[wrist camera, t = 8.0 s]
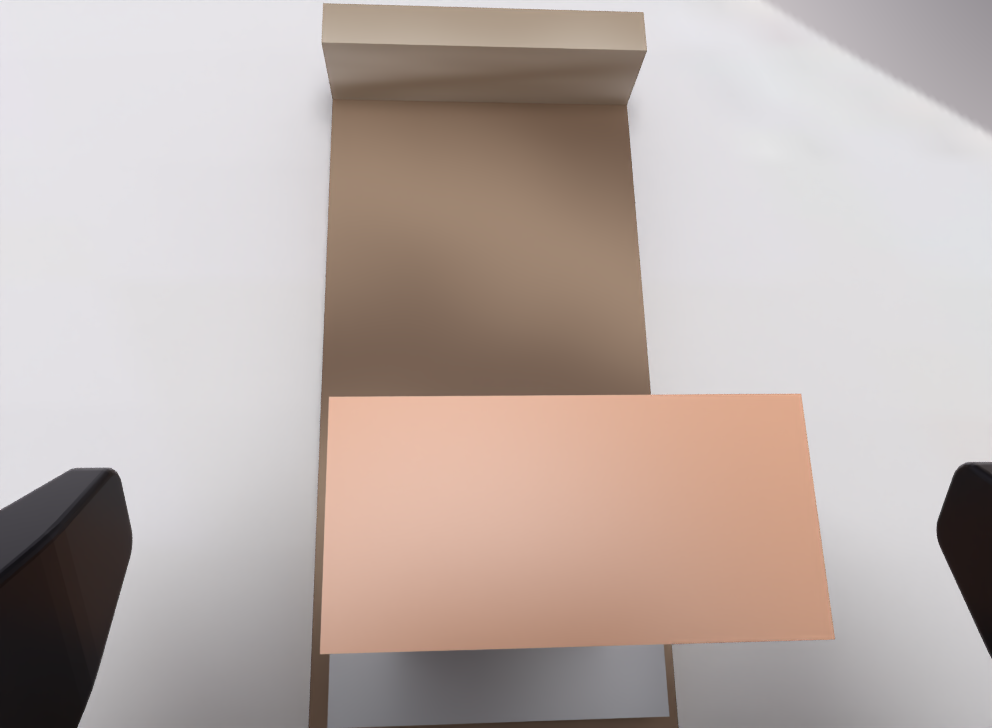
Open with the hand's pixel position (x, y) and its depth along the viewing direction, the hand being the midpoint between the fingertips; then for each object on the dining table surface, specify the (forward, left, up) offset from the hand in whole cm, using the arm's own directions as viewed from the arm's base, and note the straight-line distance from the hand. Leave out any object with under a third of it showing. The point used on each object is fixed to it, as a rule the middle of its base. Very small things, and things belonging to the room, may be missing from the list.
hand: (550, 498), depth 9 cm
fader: (0, 0, -8) cm, 8 cm away
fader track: (+3, 0, -9) cm, 10 cm away
